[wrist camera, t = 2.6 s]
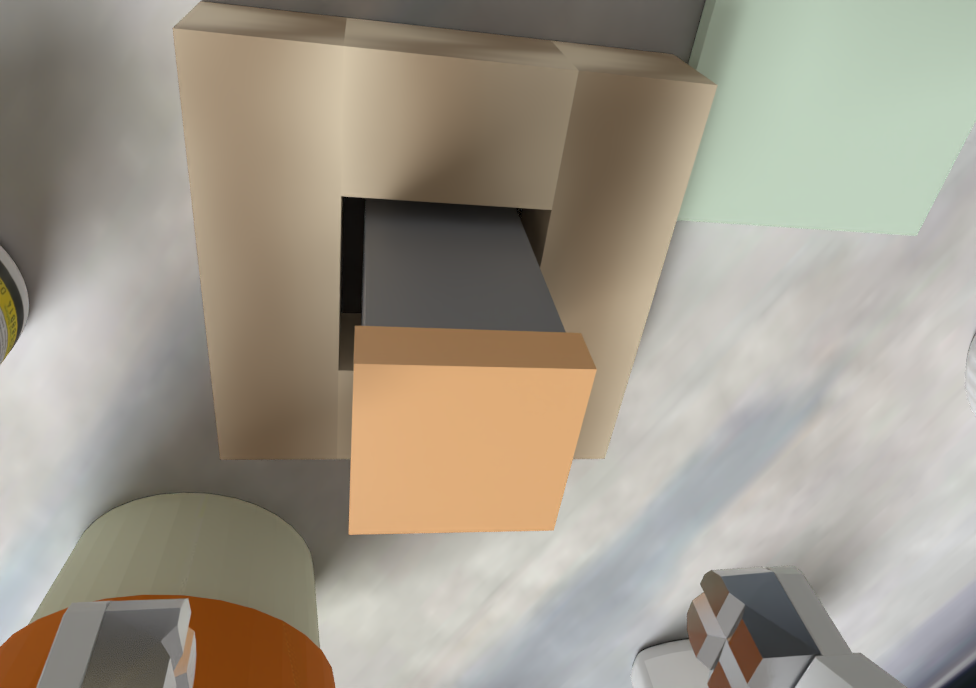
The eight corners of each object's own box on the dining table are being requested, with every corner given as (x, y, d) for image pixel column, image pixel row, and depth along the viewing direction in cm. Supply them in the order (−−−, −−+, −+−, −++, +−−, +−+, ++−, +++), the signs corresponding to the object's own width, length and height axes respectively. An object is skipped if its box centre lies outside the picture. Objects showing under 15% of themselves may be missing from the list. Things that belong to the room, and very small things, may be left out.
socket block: (673, 54, 19) (717, 85, 17) (582, 400, 26) (604, 458, 23) (200, 0, 17) (173, 28, 14) (234, 395, 24) (219, 459, 21)
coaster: (1064, -90, 18) (1083, -89, 18) (905, 227, 23) (916, 235, 23) (745, -145, 17) (757, -145, 16) (647, 210, 22) (654, 218, 21)
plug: (513, 178, 21) (597, 369, 13) (493, 307, 23) (553, 530, 16) (358, 166, 20) (354, 363, 12) (354, 301, 22) (348, 534, 15)
